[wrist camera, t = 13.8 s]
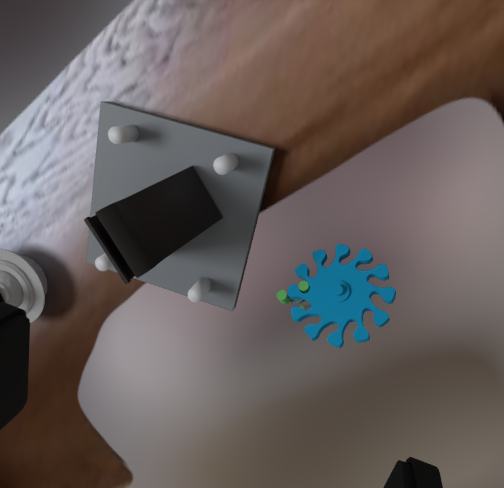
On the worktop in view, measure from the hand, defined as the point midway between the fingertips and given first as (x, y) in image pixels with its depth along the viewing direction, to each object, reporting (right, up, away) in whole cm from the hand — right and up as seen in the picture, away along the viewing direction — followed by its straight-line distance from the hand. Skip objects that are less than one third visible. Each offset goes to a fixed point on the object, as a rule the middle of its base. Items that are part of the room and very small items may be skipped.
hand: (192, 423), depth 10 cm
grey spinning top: (-27, 0, +43) cm, 51 cm away
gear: (+10, +1, +33) cm, 35 cm away
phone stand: (-7, +8, +34) cm, 35 cm away
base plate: (-7, +8, +35) cm, 36 cm away
